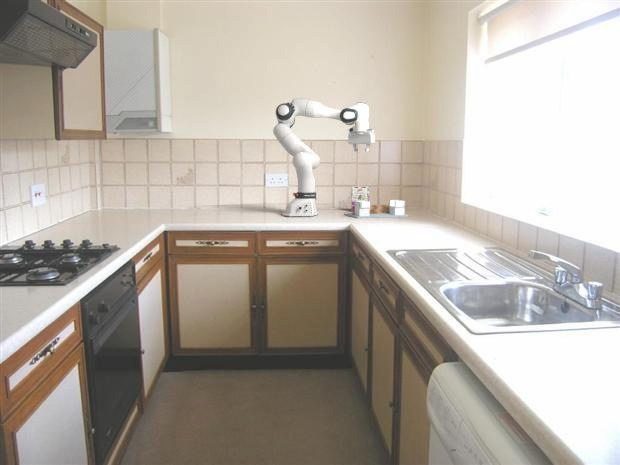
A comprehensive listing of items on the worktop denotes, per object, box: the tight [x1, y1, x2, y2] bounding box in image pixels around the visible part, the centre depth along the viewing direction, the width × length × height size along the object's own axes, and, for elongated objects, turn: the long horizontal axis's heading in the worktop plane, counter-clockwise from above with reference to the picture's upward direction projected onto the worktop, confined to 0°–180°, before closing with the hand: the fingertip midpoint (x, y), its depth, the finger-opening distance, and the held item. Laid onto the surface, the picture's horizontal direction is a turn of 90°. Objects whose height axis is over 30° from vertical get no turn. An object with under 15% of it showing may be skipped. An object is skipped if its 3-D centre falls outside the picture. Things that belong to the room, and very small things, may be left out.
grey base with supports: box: [343, 199, 409, 219], centre depth 329 cm, size 34×20×10 cm, turn 109°
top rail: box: [352, 204, 390, 214], centre depth 333 cm, size 26×4×5 cm, turn 113°
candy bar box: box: [351, 186, 371, 213], centre depth 350 cm, size 11×5×16 cm, turn 73°
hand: (361, 151), depth 337 cm, fingers open, 8 cm apart
